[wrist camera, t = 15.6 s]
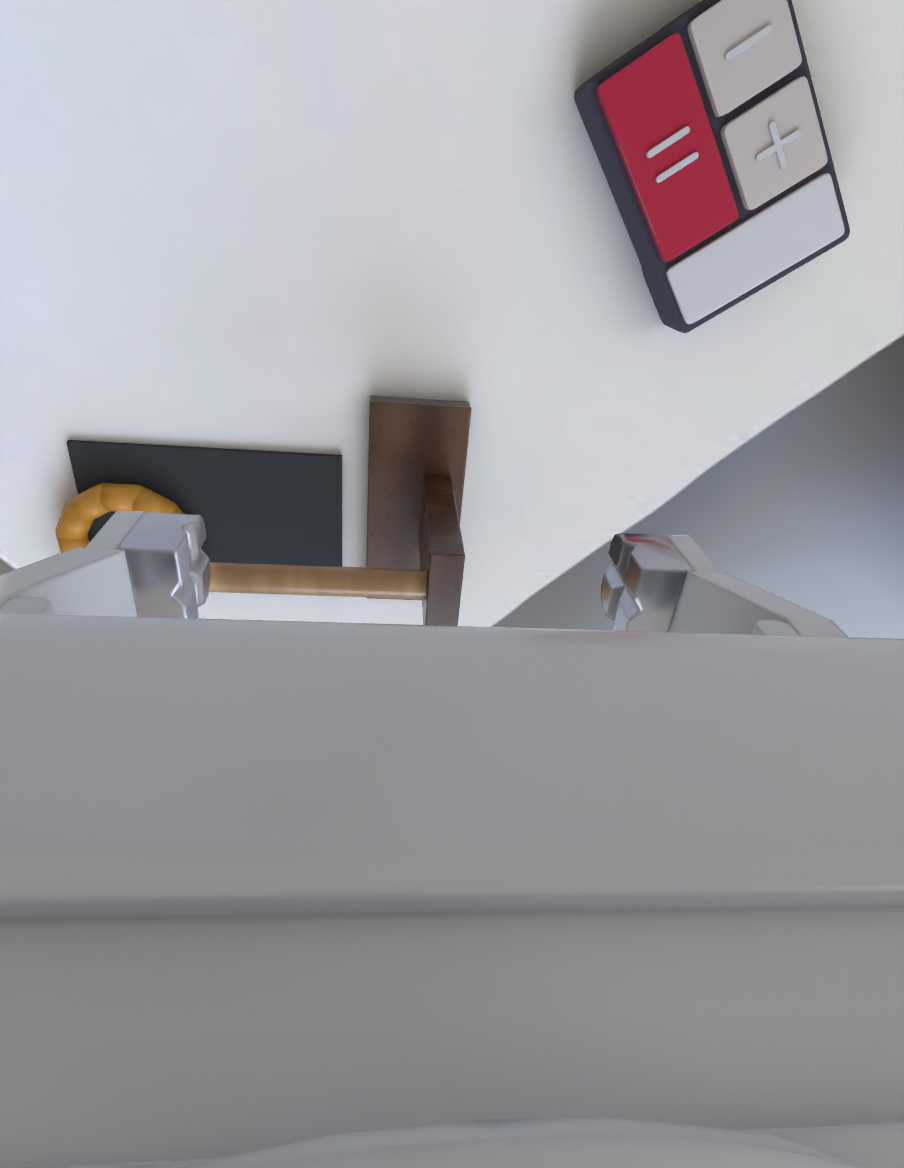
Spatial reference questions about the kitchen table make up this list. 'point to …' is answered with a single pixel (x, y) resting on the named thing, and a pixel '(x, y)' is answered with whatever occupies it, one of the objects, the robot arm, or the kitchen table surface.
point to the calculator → (716, 156)
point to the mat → (232, 496)
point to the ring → (105, 509)
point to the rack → (393, 517)
